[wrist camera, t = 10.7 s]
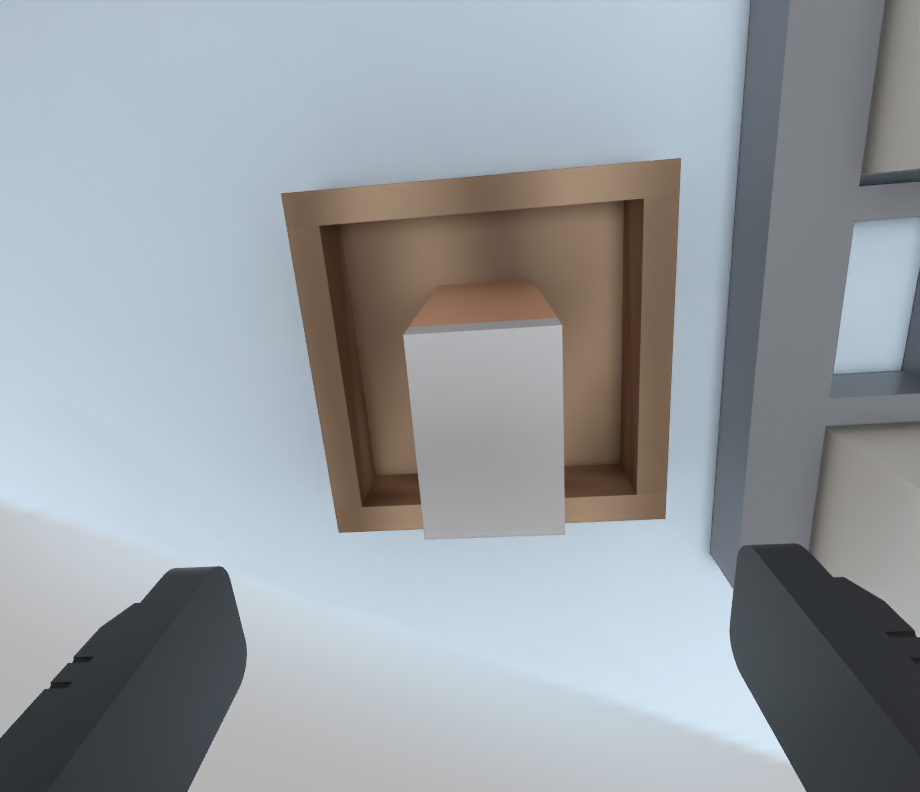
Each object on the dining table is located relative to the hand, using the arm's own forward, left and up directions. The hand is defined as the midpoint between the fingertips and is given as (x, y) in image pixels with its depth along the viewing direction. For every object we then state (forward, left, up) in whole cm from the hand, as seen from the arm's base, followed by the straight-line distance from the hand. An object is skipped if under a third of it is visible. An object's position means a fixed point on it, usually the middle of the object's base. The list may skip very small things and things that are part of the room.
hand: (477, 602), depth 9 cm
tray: (0, 0, -17) cm, 17 cm away
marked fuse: (0, 0, -16) cm, 16 cm away
